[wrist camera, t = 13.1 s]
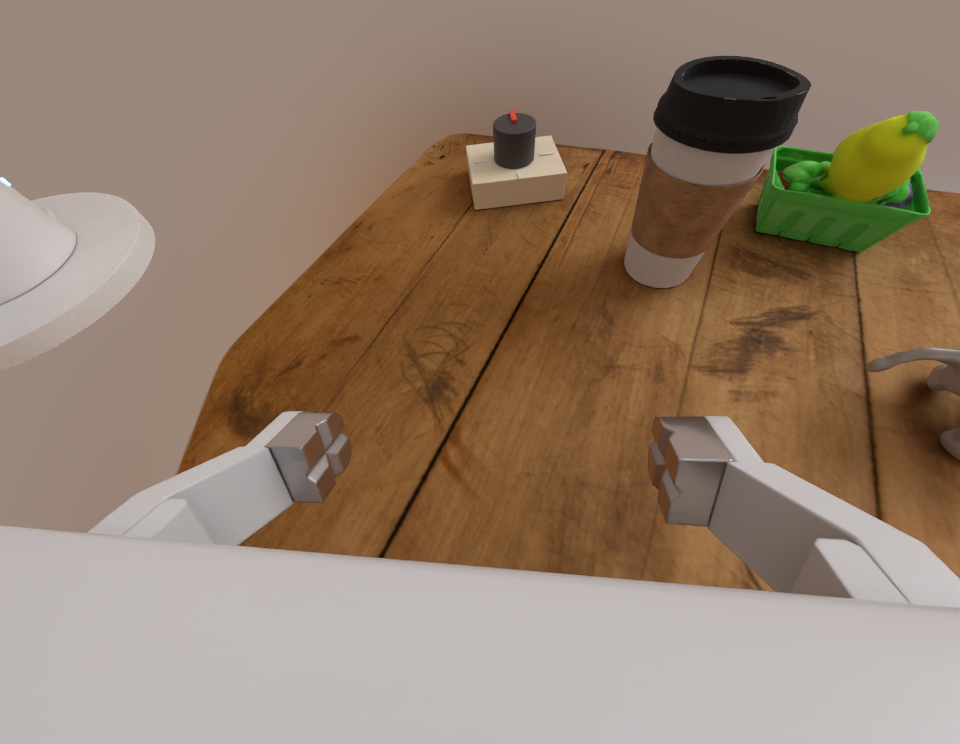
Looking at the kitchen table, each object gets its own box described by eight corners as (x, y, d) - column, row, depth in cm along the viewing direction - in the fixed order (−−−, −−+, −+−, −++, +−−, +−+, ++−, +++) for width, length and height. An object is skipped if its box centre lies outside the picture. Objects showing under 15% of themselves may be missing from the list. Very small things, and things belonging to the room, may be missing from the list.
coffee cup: (621, 302, 33) (695, 109, 20) (601, 240, 37) (650, 51, 24) (718, 295, 32) (855, 96, 20) (686, 233, 37) (780, 39, 24)
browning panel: (474, 211, 41) (472, 184, 38) (467, 169, 45) (465, 142, 43) (564, 201, 41) (568, 172, 38) (548, 160, 46) (550, 132, 43)
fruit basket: (871, 215, 37) (1000, 78, 27) (880, 274, 32) (1036, 137, 23) (745, 194, 40) (821, 64, 30) (738, 245, 35) (823, 113, 26)
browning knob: (537, 166, 39) (539, 127, 36) (496, 171, 39) (495, 132, 36) (530, 145, 42) (532, 107, 39) (492, 149, 42) (490, 112, 39)
